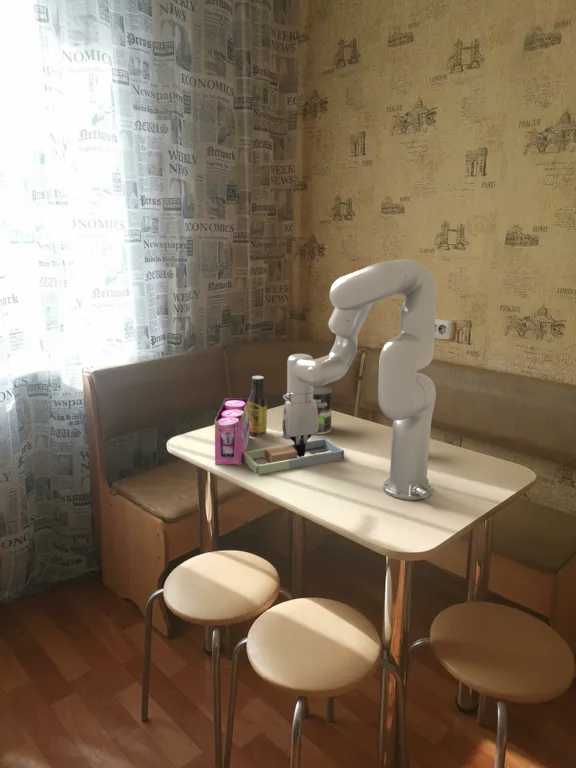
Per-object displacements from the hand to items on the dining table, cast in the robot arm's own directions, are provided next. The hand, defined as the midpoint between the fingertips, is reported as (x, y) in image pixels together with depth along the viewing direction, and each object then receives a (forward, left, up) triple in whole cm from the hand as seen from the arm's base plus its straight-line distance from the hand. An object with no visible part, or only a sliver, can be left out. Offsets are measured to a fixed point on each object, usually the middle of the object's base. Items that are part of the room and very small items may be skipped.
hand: (299, 454), depth 175 cm
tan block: (0, +6, -1) cm, 6 cm away
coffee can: (+20, -16, -1) cm, 25 cm away
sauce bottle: (+24, +4, -1) cm, 24 cm away
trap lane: (0, +2, -1) cm, 2 cm away
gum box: (+14, +16, -1) cm, 21 cm away
